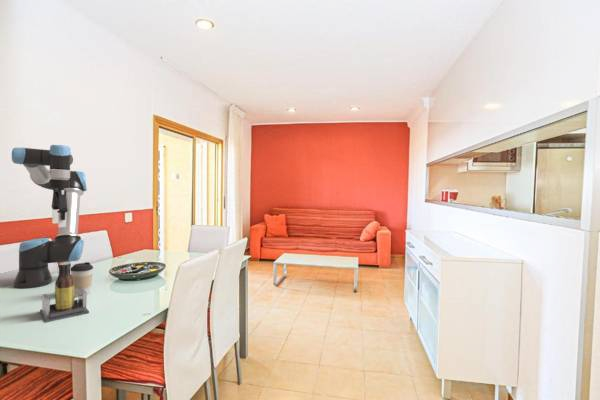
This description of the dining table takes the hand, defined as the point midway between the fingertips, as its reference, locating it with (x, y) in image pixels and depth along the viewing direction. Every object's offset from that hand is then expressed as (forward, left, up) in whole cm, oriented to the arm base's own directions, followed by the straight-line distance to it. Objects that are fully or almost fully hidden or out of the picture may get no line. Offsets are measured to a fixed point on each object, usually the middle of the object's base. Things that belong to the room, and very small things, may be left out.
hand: (58, 225), depth 144 cm
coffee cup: (+2, +9, -34) cm, 35 cm away
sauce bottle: (+22, -1, -33) cm, 40 cm away
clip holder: (+22, -1, -34) cm, 40 cm away
